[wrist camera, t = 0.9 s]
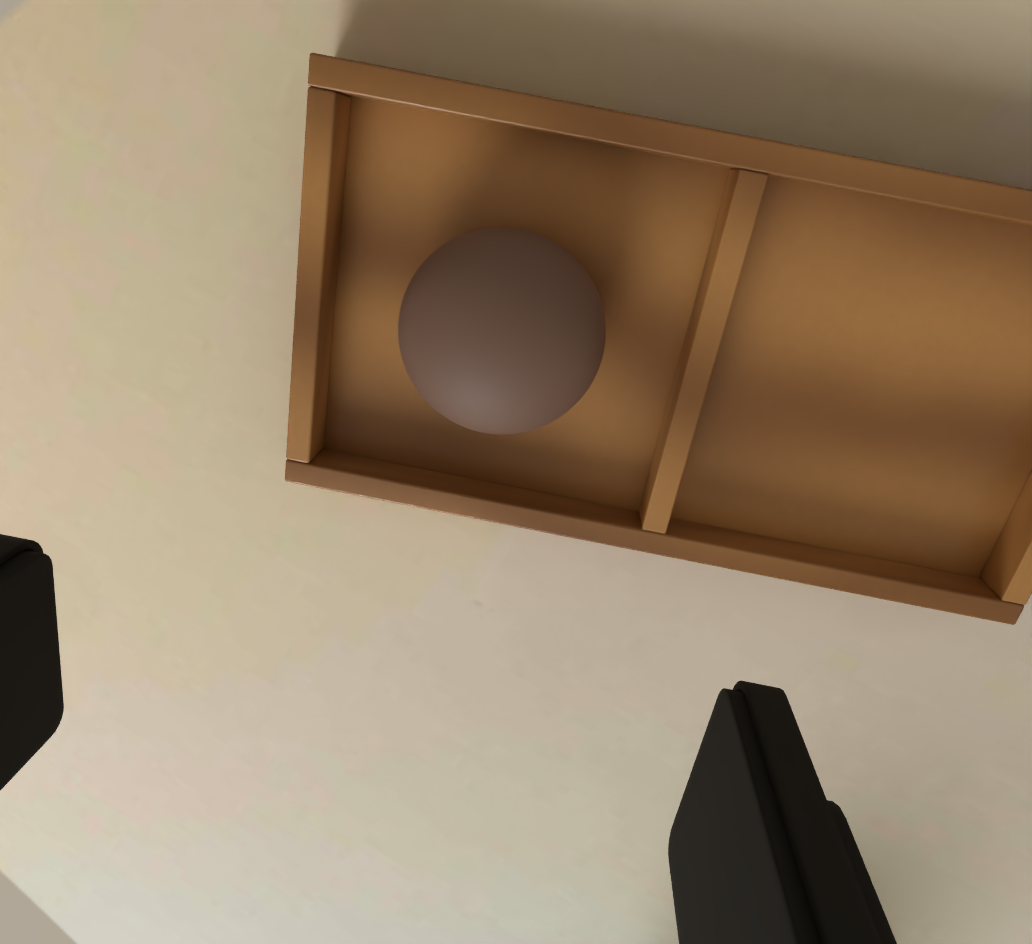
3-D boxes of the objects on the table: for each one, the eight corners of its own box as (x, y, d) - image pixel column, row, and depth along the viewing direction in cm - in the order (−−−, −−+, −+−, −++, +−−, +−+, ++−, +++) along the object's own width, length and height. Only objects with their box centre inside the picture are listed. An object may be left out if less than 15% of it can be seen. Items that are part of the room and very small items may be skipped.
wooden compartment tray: (332, 61, 21) (309, 51, 20) (1169, 221, 21) (1225, 226, 19) (304, 460, 26) (283, 481, 24) (984, 593, 26) (1015, 626, 24)
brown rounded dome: (454, 434, 25) (431, 481, 21) (384, 262, 23) (345, 280, 19) (627, 379, 24) (635, 418, 20) (569, 192, 22) (566, 197, 18)
